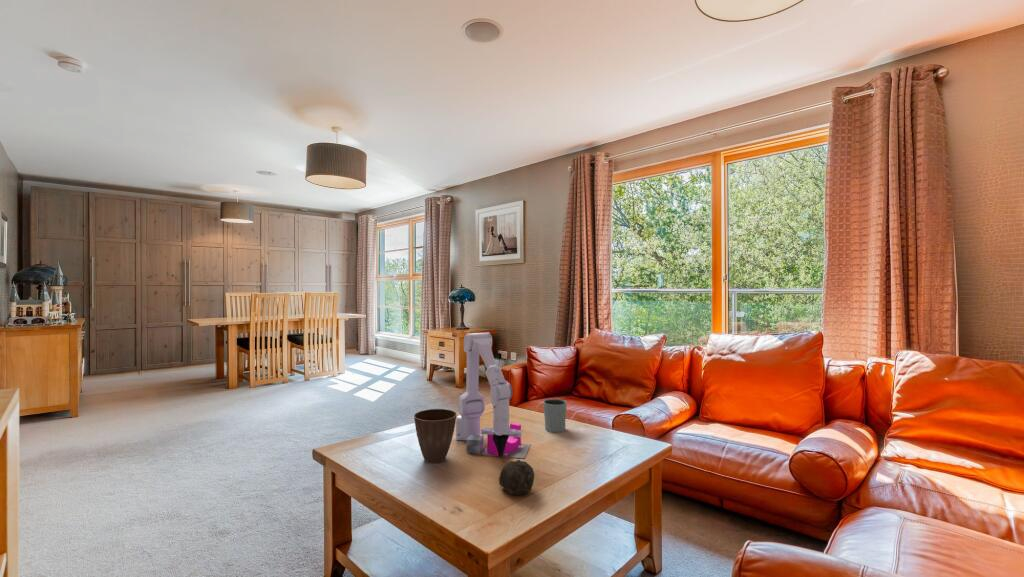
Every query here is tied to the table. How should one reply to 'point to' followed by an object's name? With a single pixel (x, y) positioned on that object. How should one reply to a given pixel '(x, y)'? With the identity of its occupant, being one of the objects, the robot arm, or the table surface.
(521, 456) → the board
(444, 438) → the plant pot
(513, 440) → the toy block
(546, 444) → the table surface
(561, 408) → the gray cup
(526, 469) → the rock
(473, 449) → the gray cube
